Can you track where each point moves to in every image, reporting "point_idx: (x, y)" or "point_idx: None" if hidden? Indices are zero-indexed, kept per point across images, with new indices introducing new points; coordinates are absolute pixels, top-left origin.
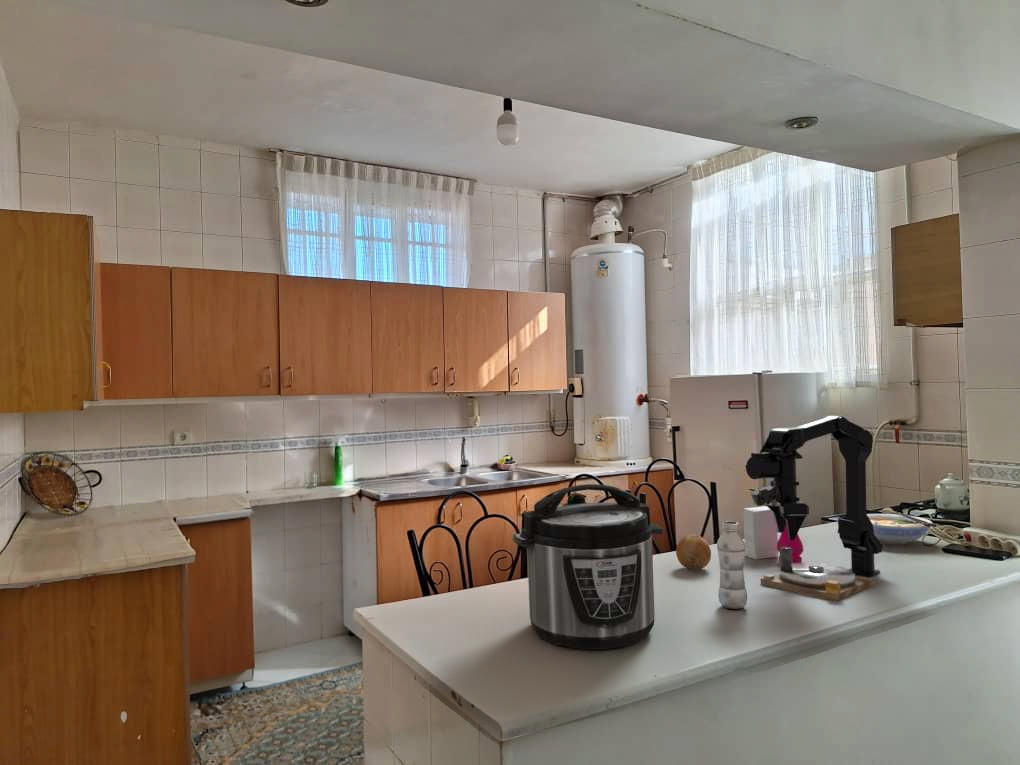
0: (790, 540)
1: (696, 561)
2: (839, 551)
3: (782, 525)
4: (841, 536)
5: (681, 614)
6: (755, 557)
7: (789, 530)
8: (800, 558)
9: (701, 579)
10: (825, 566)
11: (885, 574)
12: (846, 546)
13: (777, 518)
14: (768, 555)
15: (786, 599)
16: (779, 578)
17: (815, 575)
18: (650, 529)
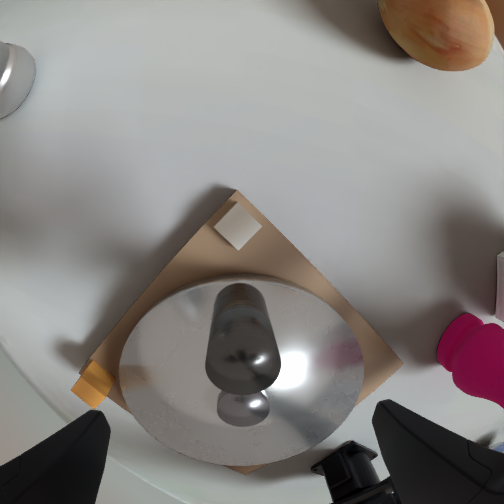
0: (484, 375)
1: (380, 4)
2: (474, 419)
3: (394, 455)
4: (385, 502)
5: (16, 10)
6: (499, 257)
7: (38, 449)
8: (448, 369)
9: (294, 13)
10: (304, 429)
11: (325, 481)
12: (384, 482)
13: (443, 472)
14: (499, 294)
15: (69, 238)
16: (240, 268)
17: (180, 385)
18: None
